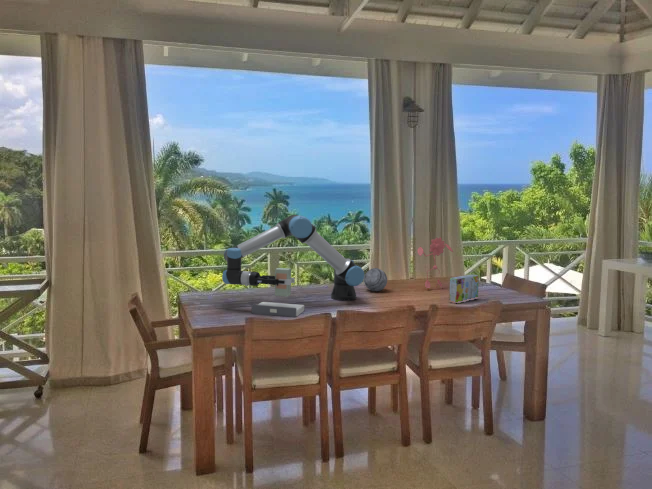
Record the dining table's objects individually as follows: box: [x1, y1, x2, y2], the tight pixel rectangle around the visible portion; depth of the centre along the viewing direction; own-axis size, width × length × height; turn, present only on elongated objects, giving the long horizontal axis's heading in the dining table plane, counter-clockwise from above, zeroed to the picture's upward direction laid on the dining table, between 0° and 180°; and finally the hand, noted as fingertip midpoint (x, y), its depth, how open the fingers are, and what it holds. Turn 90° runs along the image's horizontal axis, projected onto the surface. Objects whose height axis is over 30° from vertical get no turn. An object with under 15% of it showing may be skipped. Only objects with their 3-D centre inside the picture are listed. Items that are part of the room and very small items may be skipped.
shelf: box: [251, 301, 305, 318], centre depth 278 cm, size 24×16×4 cm, turn 75°
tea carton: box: [274, 267, 292, 298], centre depth 275 cm, size 5×7×14 cm
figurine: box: [416, 236, 454, 289], centre depth 343 cm, size 15×26×35 cm, turn 115°
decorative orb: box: [363, 267, 388, 292], centre depth 338 cm, size 15×14×15 cm
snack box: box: [448, 274, 480, 302], centre depth 313 cm, size 21×6×15 cm, turn 128°
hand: (292, 281), depth 273 cm, fingers closed on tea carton, 5 cm apart
